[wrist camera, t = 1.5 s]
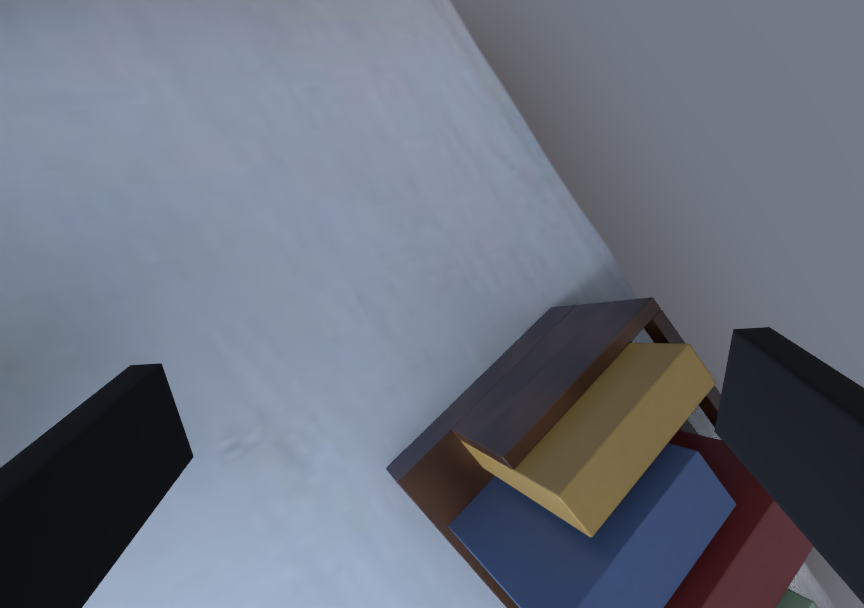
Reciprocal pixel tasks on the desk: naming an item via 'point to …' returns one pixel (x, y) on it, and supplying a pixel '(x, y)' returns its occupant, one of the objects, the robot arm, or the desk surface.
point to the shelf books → (635, 451)
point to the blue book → (600, 539)
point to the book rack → (523, 407)
